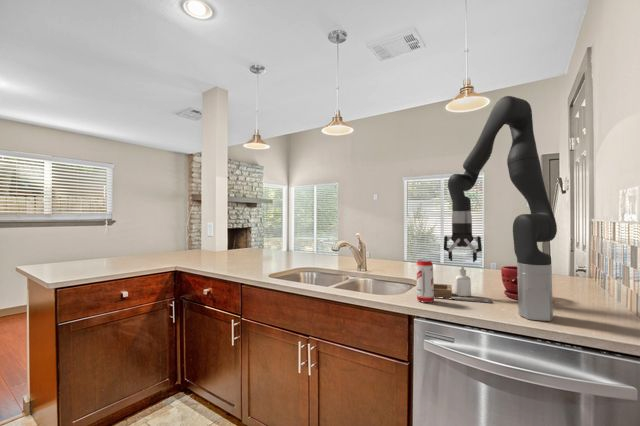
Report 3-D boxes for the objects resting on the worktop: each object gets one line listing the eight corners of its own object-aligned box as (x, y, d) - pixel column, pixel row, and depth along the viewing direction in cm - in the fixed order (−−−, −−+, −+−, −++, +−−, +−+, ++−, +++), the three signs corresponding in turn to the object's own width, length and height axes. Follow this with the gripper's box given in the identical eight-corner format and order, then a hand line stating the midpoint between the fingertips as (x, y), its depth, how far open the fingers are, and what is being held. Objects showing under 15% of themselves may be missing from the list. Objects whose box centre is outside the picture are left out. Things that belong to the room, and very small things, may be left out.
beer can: (431, 299, 125) (430, 259, 125) (435, 303, 118) (434, 261, 119) (415, 299, 125) (414, 259, 125) (419, 303, 119) (417, 261, 119)
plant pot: (549, 301, 118) (548, 269, 119) (513, 301, 119) (513, 270, 119) (526, 293, 131) (526, 264, 132) (495, 293, 132) (494, 265, 132)
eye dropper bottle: (469, 298, 126) (468, 268, 126) (454, 295, 129) (453, 266, 129) (472, 295, 129) (471, 266, 129) (457, 293, 132) (457, 265, 133)
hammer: (493, 303, 117) (493, 294, 117) (427, 298, 127) (426, 289, 127) (490, 295, 128) (490, 287, 128) (429, 291, 138) (429, 283, 138)
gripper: (442, 222, 129) (443, 261, 129) (481, 222, 123) (482, 263, 123) (443, 221, 136) (444, 259, 136) (480, 221, 130) (481, 260, 130)
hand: (462, 261), depth 129 cm, fingers open, 8 cm apart
